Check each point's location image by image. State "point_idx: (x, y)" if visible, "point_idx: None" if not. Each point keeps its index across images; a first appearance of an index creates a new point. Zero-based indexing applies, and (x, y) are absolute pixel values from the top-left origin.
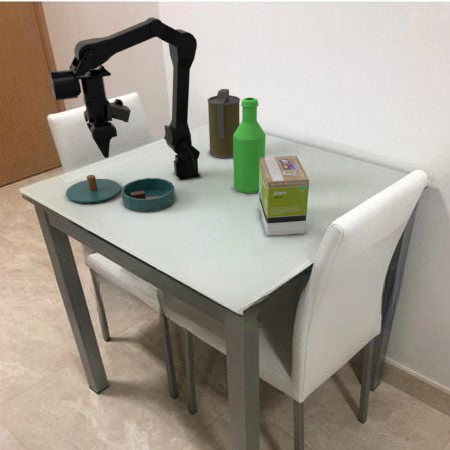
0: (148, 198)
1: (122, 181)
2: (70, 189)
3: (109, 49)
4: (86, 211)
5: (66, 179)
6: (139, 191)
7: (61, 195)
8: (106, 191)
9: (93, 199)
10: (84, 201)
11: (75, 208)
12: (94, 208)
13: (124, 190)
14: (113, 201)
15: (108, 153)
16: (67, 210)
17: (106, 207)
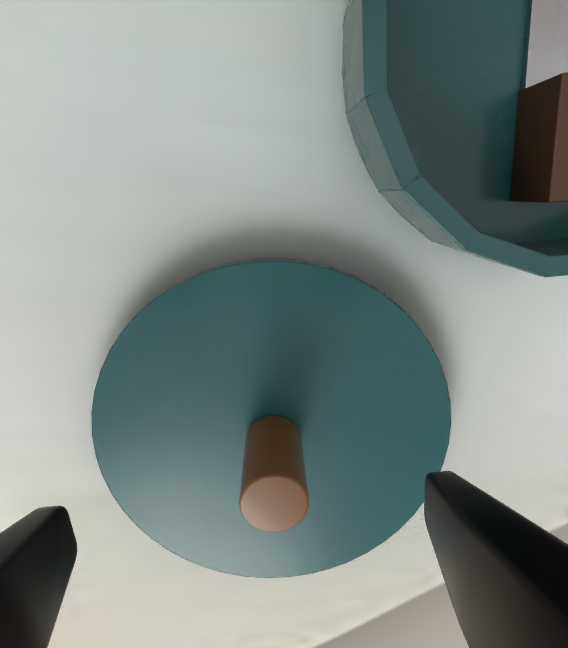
0: (559, 56)
1: (121, 228)
2: (230, 558)
3: None
4: (508, 470)
5: None
6: (565, 115)
7: (250, 582)
8: (335, 361)
9: (427, 443)
10: None
11: None
12: (490, 430)
13: (525, 247)
14: (442, 319)
15: (507, 514)
16: None
17: (509, 366)
